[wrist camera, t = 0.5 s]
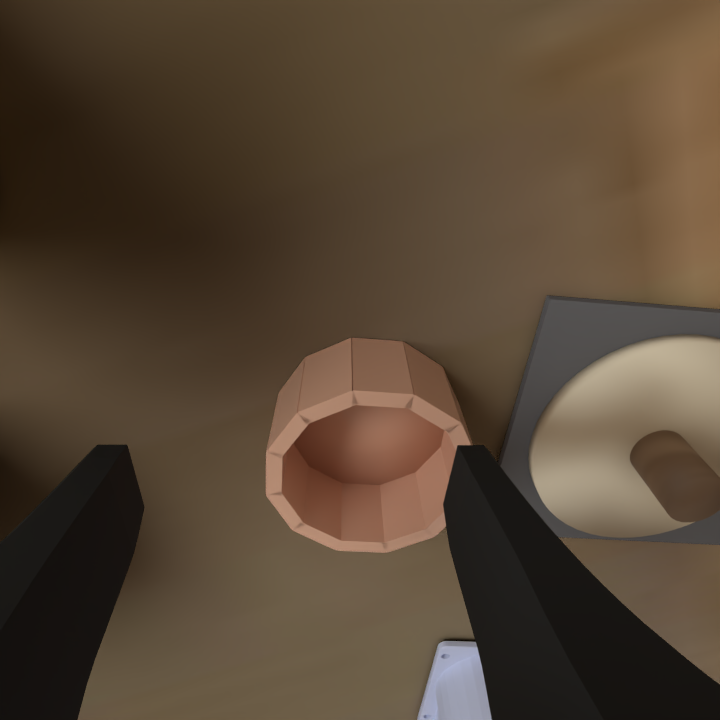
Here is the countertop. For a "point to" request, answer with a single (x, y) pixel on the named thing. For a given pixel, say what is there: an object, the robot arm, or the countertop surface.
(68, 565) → the robot arm
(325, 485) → the bowl
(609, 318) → the mat
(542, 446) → the cover
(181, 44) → the countertop surface
